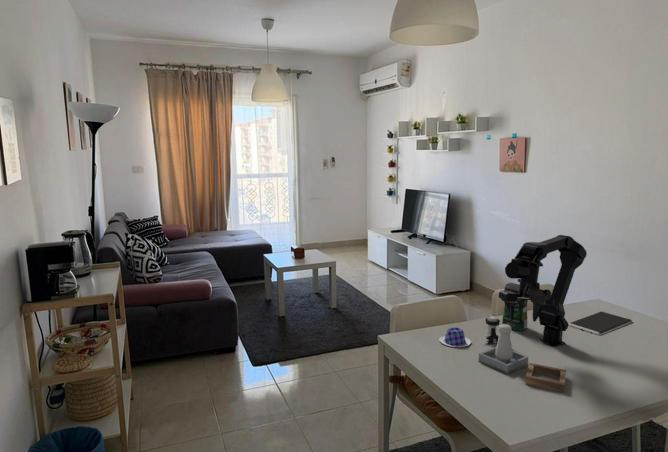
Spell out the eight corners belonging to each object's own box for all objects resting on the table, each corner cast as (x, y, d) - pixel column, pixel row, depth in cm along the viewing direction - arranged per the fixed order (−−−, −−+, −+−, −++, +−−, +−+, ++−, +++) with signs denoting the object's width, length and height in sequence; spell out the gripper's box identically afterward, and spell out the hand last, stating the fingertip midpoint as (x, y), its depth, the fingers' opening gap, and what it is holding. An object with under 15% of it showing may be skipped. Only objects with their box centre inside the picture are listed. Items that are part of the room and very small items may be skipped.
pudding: (456, 334, 187) (456, 322, 186) (477, 345, 176) (478, 332, 175) (432, 339, 181) (433, 327, 180) (453, 351, 171) (454, 337, 170)
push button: (490, 346, 173) (491, 321, 172) (479, 342, 178) (480, 317, 176) (501, 342, 177) (503, 318, 175) (490, 338, 181) (491, 314, 180)
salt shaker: (495, 356, 164) (496, 321, 162) (512, 358, 161) (514, 323, 159) (494, 363, 158) (496, 327, 156) (512, 365, 156) (514, 329, 154)
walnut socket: (529, 369, 155) (529, 362, 154) (565, 377, 150) (566, 369, 149) (525, 384, 145) (525, 376, 145) (564, 392, 140) (564, 384, 140)
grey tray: (499, 353, 168) (499, 345, 167) (527, 365, 158) (528, 356, 158) (478, 361, 161) (478, 353, 161) (507, 374, 152) (507, 365, 151)
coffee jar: (498, 326, 194) (501, 283, 191) (508, 321, 199) (511, 280, 196) (520, 332, 187) (523, 288, 184) (530, 328, 192) (532, 285, 189)
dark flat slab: (566, 327, 194) (566, 323, 194) (601, 314, 208) (601, 310, 208) (598, 337, 183) (598, 333, 183) (632, 323, 197) (632, 319, 197)
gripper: (518, 281, 154) (512, 326, 156) (567, 285, 158) (560, 329, 159) (500, 274, 165) (494, 316, 166) (546, 278, 169) (540, 319, 170)
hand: (522, 320), depth 165 cm, fingers open, 9 cm apart
